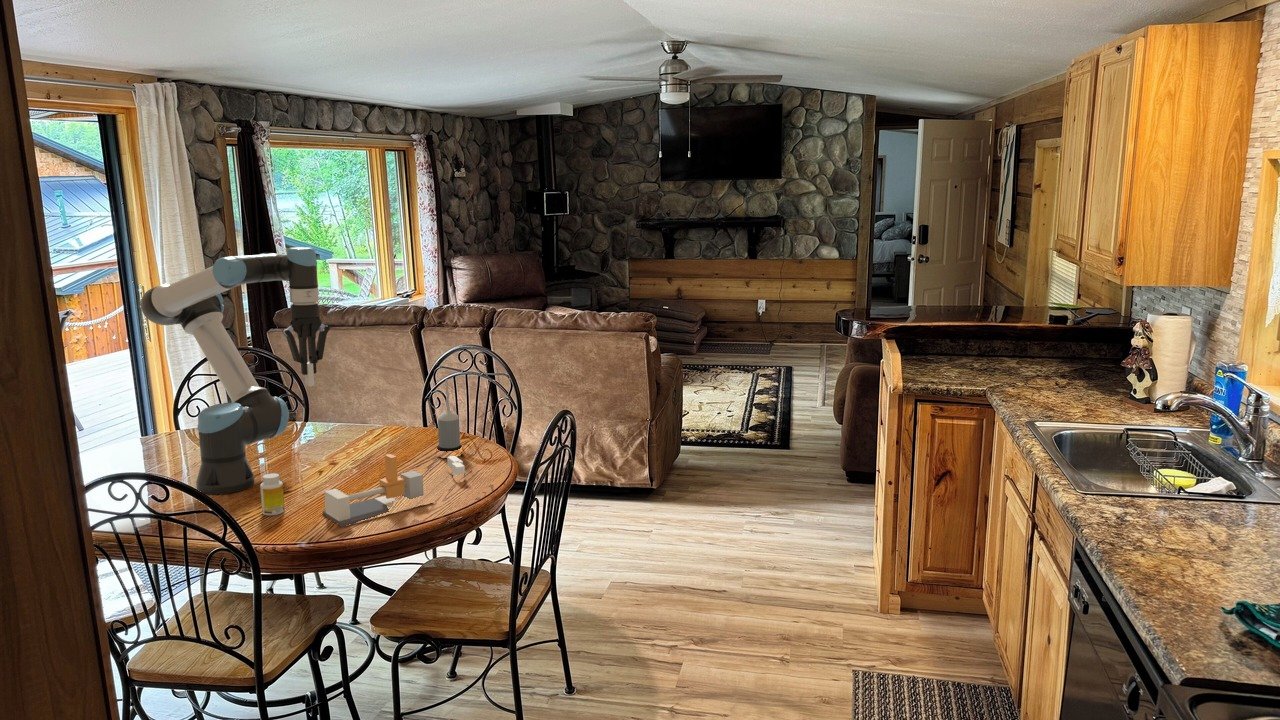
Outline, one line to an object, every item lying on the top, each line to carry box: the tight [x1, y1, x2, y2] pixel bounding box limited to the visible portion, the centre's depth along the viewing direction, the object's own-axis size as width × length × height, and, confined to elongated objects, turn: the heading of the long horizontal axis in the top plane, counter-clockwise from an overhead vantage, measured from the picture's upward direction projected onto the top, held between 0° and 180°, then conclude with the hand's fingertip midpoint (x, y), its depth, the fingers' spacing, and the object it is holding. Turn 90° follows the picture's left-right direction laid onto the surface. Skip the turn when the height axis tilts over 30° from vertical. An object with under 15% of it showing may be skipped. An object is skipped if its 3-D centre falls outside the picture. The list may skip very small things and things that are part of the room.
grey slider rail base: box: [322, 470, 425, 528], centre depth 233 cm, size 26×12×8 cm, turn 134°
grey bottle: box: [436, 379, 463, 452], centre depth 280 cm, size 8×8×25 cm
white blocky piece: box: [446, 456, 466, 475], centre depth 260 cm, size 15×11×6 cm
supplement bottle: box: [259, 472, 286, 517], centre depth 229 cm, size 6×6×10 cm
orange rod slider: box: [379, 453, 404, 499], centre depth 235 cm, size 5×4×11 cm
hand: (309, 385), depth 247 cm, fingers closed
